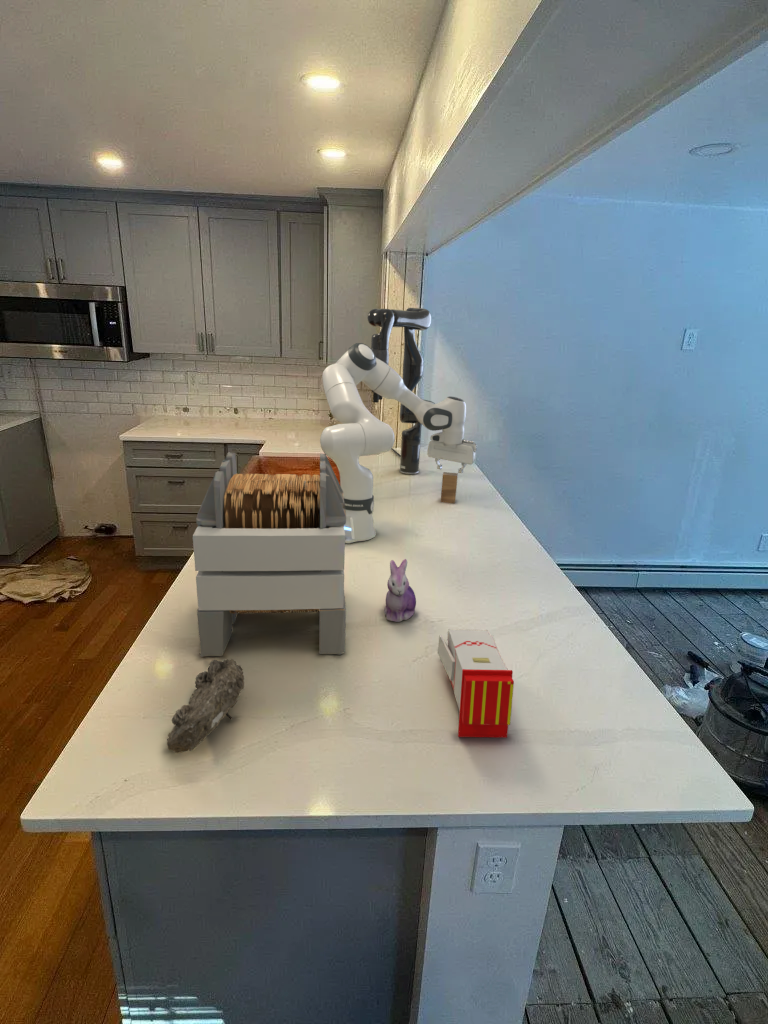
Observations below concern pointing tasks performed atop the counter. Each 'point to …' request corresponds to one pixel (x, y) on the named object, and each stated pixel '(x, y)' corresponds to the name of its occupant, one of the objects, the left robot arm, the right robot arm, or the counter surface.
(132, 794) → the counter surface
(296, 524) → the record crate
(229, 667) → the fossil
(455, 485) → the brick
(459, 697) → the toy
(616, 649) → the counter surface
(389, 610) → the figurine
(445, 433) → the left robot arm
